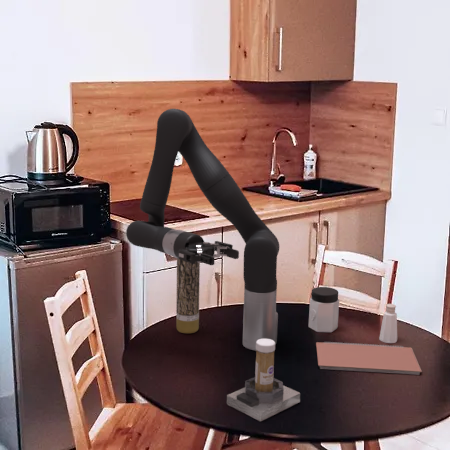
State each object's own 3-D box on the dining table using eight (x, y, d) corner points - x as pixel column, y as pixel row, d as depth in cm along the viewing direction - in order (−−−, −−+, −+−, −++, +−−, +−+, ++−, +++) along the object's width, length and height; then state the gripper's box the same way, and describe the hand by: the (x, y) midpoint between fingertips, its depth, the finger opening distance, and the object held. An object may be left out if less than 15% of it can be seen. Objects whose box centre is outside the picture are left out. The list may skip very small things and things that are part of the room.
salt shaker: (399, 343, 207) (402, 308, 204) (380, 343, 207) (383, 307, 204) (395, 336, 212) (398, 302, 210) (377, 336, 212) (379, 301, 210)
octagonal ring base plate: (266, 386, 178) (266, 369, 177) (299, 402, 170) (300, 383, 169) (226, 404, 168) (227, 385, 167) (260, 421, 161) (261, 402, 159)
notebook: (410, 351, 203) (411, 345, 202) (421, 377, 186) (421, 370, 186) (315, 346, 205) (316, 340, 204) (318, 371, 189) (318, 364, 188)
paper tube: (200, 326, 216) (201, 248, 211) (197, 335, 210) (198, 254, 204) (178, 325, 217) (178, 247, 211) (174, 333, 210) (175, 253, 205)
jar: (303, 324, 220) (305, 288, 217) (325, 320, 224) (327, 285, 221) (320, 334, 212) (322, 297, 209) (342, 330, 216) (344, 293, 213)
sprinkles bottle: (267, 400, 166) (269, 346, 163) (250, 395, 168) (252, 342, 165) (276, 392, 170) (278, 340, 166) (259, 387, 172) (261, 336, 169)
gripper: (162, 235, 181) (205, 248, 170) (203, 227, 191) (246, 238, 180) (162, 263, 183) (204, 278, 172) (202, 254, 193) (245, 267, 181)
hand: (225, 258), depth 176 cm, fingers open, 8 cm apart
